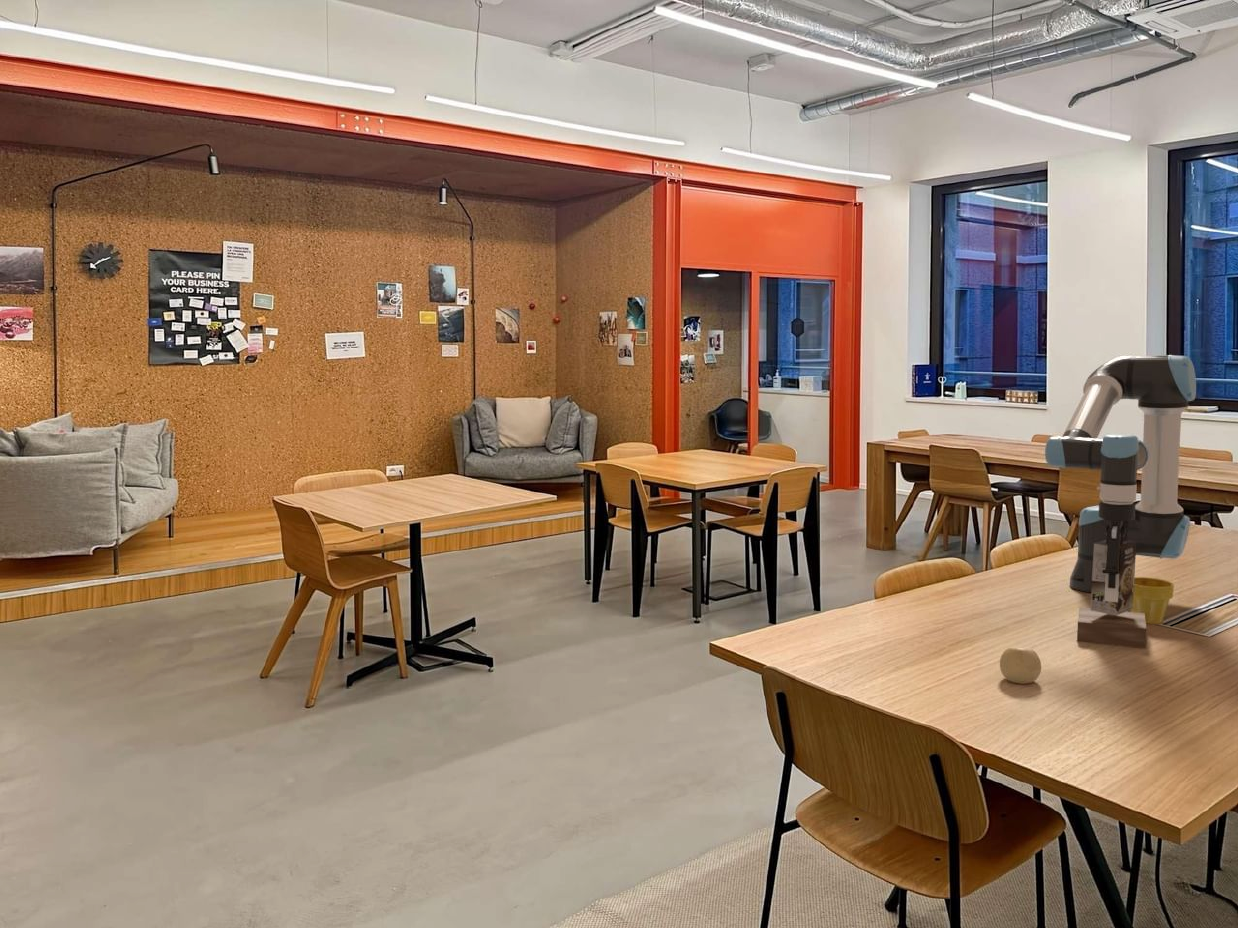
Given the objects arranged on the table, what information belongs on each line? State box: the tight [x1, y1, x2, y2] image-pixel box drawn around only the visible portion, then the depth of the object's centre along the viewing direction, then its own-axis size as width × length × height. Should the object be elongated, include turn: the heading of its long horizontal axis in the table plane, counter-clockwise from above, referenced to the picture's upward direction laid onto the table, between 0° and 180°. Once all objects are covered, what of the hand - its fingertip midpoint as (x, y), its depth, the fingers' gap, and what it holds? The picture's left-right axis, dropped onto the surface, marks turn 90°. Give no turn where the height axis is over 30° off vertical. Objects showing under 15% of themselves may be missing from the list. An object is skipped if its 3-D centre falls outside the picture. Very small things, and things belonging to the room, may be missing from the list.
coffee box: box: [1089, 540, 1137, 615], centre depth 230 cm, size 9×6×16 cm
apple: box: [999, 647, 1042, 685], centre depth 202 cm, size 8×8×8 cm
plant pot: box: [1130, 576, 1175, 625], centre depth 244 cm, size 10×10×10 cm
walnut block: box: [1076, 606, 1148, 650], centre depth 232 cm, size 14×14×5 cm
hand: (1112, 595), depth 231 cm, fingers closed on coffee box, 10 cm apart
